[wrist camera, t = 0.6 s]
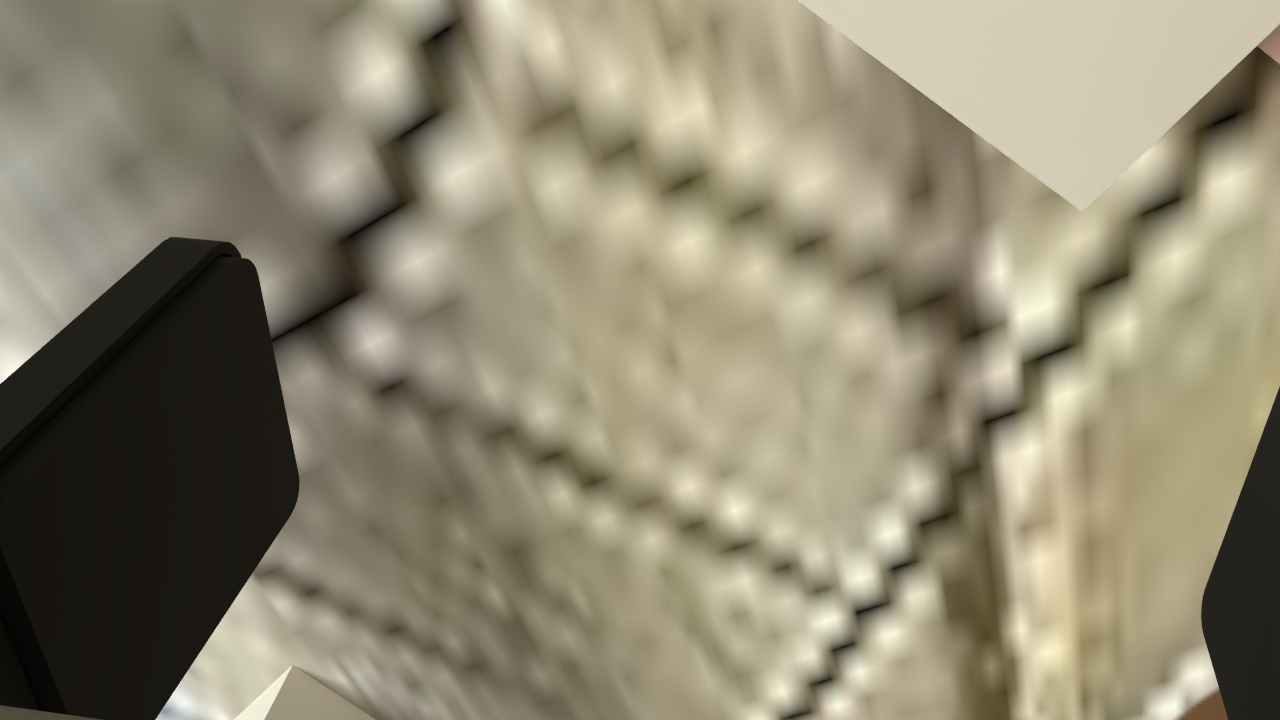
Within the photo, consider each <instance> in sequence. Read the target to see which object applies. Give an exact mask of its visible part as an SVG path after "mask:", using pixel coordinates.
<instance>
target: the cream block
mask: <svg viewBox="0 0 1280 720" xmlns="http://www.w3.org/2000/svg"><path fill="white" fill-rule="evenodd" d="M798 1H799V2H801V3H802V4H803V5H805V6H806V7H807V8H809V9H810V10H811V11H813V12H814V13H815V14H817V15H818V16H819V17H821V18H822V19H823V20H825V21H826V22H827V23H829V24H830V25H832V26H833V27H834V28H836V29H837V30H838V31H840V32H841V33H842V34H844V35H845V36H846V37H848V38H849V39H850V40H852V41H853V42H854V43H856V44H857V45H858V46H860V47H861V48H862V49H864V50H865V51H867V52H868V53H869V54H871V55H872V56H873V57H875V58H876V59H877V60H879V61H880V62H881V63H883V64H884V65H885V66H887V67H888V68H889V69H891V70H892V71H893V72H895V73H896V74H897V75H899V76H900V77H902V78H903V79H904V80H906V81H907V82H908V83H910V84H911V85H912V86H914V87H915V88H916V89H918V90H919V91H920V92H922V93H923V94H924V95H926V96H927V97H928V98H930V99H931V100H932V101H934V102H935V103H936V104H938V105H939V106H941V107H942V108H943V109H945V110H946V111H947V112H949V113H950V114H951V115H953V116H954V117H955V118H957V119H958V120H959V121H961V122H962V123H963V124H965V125H966V126H967V127H969V128H970V129H971V130H973V131H974V132H976V133H977V134H978V135H980V136H981V137H982V138H984V139H985V140H986V141H988V142H989V143H990V144H992V145H993V146H994V147H996V148H997V149H998V150H1000V151H1001V152H1002V153H1004V154H1005V155H1006V156H1008V157H1009V158H1011V159H1012V160H1013V161H1015V162H1016V163H1017V164H1019V165H1020V166H1021V167H1023V168H1024V169H1025V170H1027V171H1028V172H1029V173H1031V174H1032V175H1033V176H1035V177H1036V178H1037V179H1039V180H1040V181H1041V182H1043V183H1044V184H1046V185H1047V186H1048V187H1050V188H1051V189H1052V190H1054V191H1055V192H1056V193H1058V194H1059V195H1060V196H1062V197H1063V198H1064V199H1066V200H1067V201H1068V202H1070V203H1071V204H1072V205H1074V206H1075V207H1076V208H1078V209H1079V210H1081V211H1083V210H1084V209H1086V208H1087V207H1088V206H1089V205H1090V204H1091V203H1092V202H1093V201H1094V200H1095V199H1096V198H1097V197H1098V196H1099V195H1100V194H1101V193H1102V192H1103V191H1104V190H1106V189H1107V188H1108V187H1109V186H1110V185H1111V184H1112V183H1113V182H1114V181H1115V180H1116V179H1117V178H1118V177H1119V176H1120V175H1121V174H1122V173H1123V172H1124V171H1126V170H1127V169H1128V168H1129V167H1130V166H1131V165H1132V164H1133V163H1134V162H1135V161H1136V160H1137V159H1138V158H1139V157H1140V156H1141V155H1142V154H1143V153H1145V152H1146V151H1147V150H1148V149H1149V148H1150V147H1151V146H1152V145H1153V144H1154V143H1155V142H1156V141H1157V140H1158V139H1159V138H1160V137H1161V136H1162V135H1163V134H1165V133H1166V132H1167V131H1168V130H1169V129H1170V128H1171V127H1172V126H1173V125H1174V124H1175V123H1176V122H1177V121H1178V120H1179V119H1180V118H1181V117H1182V116H1183V115H1185V114H1186V113H1187V112H1188V111H1189V110H1190V109H1191V108H1192V107H1193V106H1194V105H1195V104H1196V103H1197V102H1198V101H1199V100H1200V99H1201V98H1202V97H1203V96H1205V95H1206V94H1207V93H1208V92H1209V91H1210V90H1211V89H1212V88H1213V87H1214V86H1215V85H1216V84H1217V83H1218V82H1219V81H1220V80H1221V79H1222V78H1224V77H1225V76H1226V75H1227V74H1228V73H1229V72H1230V71H1231V70H1232V69H1233V68H1234V67H1235V66H1236V65H1237V64H1238V63H1239V62H1240V61H1241V60H1242V59H1244V58H1245V57H1246V56H1247V55H1248V54H1249V53H1250V52H1251V51H1252V50H1253V49H1254V48H1255V47H1256V46H1257V45H1258V44H1259V43H1260V42H1261V41H1262V40H1264V39H1265V38H1266V37H1267V36H1268V35H1269V34H1270V33H1271V32H1272V31H1273V30H1274V29H1275V28H1276V27H1277V26H1278V25H1279V24H1280V0H798Z"/></svg>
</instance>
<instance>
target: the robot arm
mask: <svg viewBox="0 0 1280 720" xmlns="http://www.w3.org/2000/svg"><path fill="white" fill-rule="evenodd" d="M298 493H299V474H298V469H297V464H296V459H295V454H294V449H293V444H292V439H291V434H290V429H289V425H288V420H287V415H286V410H285V405H284V400H283V395H282V390H281V385H280V380H279V375H278V370H277V365H276V361H275V356H274V351H273V346H272V341H271V336H270V331H269V326H268V321H267V316H266V311H265V306H264V301H263V297H262V292H261V287H260V282H259V277H258V273H257V270H256V267H255V266H254V264H253V263H252V261H250V260H249V259H245V258H242V257H241V254H240V253H239V251H238V250H237V248H236V247H235V246H234V245H233V244H231V243H229V242H222V241H212V240H201V239H190V238H180V237H170V238H168V239H167V240H165V241H163V242H162V243H161V244H160V245H159V246H157V247H156V248H155V249H154V250H153V251H152V252H151V253H149V254H148V255H147V256H146V257H145V258H144V259H143V260H141V261H140V262H139V263H138V264H137V265H136V266H135V267H133V268H132V269H131V270H130V271H129V272H128V273H127V274H125V275H124V276H123V277H122V278H121V279H120V280H119V281H117V282H116V283H115V284H114V285H113V286H112V287H111V288H109V289H108V290H107V291H106V292H105V293H104V294H103V295H101V296H100V297H99V298H98V299H97V300H96V301H95V302H93V303H92V304H91V305H90V306H89V307H88V308H87V309H85V310H84V311H83V312H82V313H81V314H80V315H79V316H77V317H76V318H75V319H74V320H73V321H72V322H71V323H70V324H68V325H67V326H66V327H65V328H64V329H63V330H62V331H60V332H59V333H58V334H57V335H56V336H55V337H54V338H52V339H51V340H50V341H49V342H48V343H47V344H46V345H44V346H43V347H42V348H41V349H40V350H39V351H38V352H36V353H35V354H34V355H33V356H32V357H31V358H30V359H28V360H27V361H26V362H25V363H24V364H23V365H22V366H20V367H19V368H18V369H17V370H16V371H15V372H14V373H12V374H11V375H10V376H9V377H8V378H7V379H6V380H4V381H3V382H2V383H1V384H0V720H155V719H156V718H157V716H158V715H159V713H160V712H161V710H162V709H163V707H164V706H165V704H166V703H167V701H168V700H169V698H170V697H171V695H172V693H173V692H174V690H175V689H176V687H177V686H178V684H179V683H180V681H181V680H182V678H183V677H184V675H185V674H186V672H187V671H188V669H189V668H190V666H191V665H192V663H193V662H194V660H195V659H196V657H197V656H198V654H199V653H200V651H201V650H202V648H203V647H204V645H205V644H206V642H207V641H208V639H209V638H210V636H211V635H212V633H213V632H214V630H215V629H216V627H217V626H218V624H219V623H220V621H221V620H222V618H223V617H224V615H225V614H226V612H227V611H228V609H229V608H230V606H231V604H232V603H233V601H234V600H235V598H236V597H237V595H238V594H239V592H240V591H241V589H242V588H243V586H244V585H245V583H246V582H247V580H248V579H249V577H250V576H251V574H252V573H253V571H254V570H255V568H256V567H257V565H258V564H259V562H260V561H261V559H262V558H263V556H264V555H265V553H266V552H267V550H268V549H269V547H270V546H271V544H272V543H273V541H274V540H275V538H276V537H277V535H278V534H279V532H280V531H281V529H282V528H283V526H284V525H285V523H286V522H287V520H288V519H289V517H290V515H291V514H292V512H293V510H294V508H295V505H296V502H297V498H298ZM1201 619H1202V629H1203V634H1204V637H1205V641H1206V644H1207V648H1208V651H1209V655H1210V658H1211V661H1212V665H1213V668H1214V672H1215V675H1216V679H1217V682H1218V685H1219V689H1220V692H1221V696H1222V699H1223V703H1224V706H1225V709H1226V713H1227V716H1228V720H1280V387H1279V390H1278V393H1277V396H1276V398H1275V401H1274V404H1273V406H1272V409H1271V412H1270V415H1269V417H1268V420H1267V423H1266V425H1265V428H1264V431H1263V433H1262V436H1261V439H1260V442H1259V444H1258V447H1257V450H1256V452H1255V455H1254V458H1253V461H1252V463H1251V466H1250V469H1249V471H1248V474H1247V477H1246V480H1245V482H1244V485H1243V488H1242V490H1241V493H1240V496H1239V498H1238V501H1237V504H1236V507H1235V509H1234V512H1233V515H1232V517H1231V520H1230V523H1229V526H1228V528H1227V531H1226V534H1225V536H1224V539H1223V542H1222V545H1221V547H1220V550H1219V553H1218V555H1217V558H1216V561H1215V563H1214V566H1213V569H1212V572H1211V574H1210V577H1209V580H1208V582H1207V585H1206V588H1205V591H1204V595H1203V601H1202V611H1201Z"/></svg>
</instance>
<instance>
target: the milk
mask: <svg viewBox="0 0 1280 720" xmlns="http://www.w3.org/2000/svg"><path fill="white" fill-rule="evenodd" d="M234 720H375V719H374V718H372V717H371V716H369V715H368V714H366V713H365V712H363V711H362V710H360V709H359V708H357V707H356V706H354V705H353V704H351V703H350V702H348V701H347V700H345V699H344V698H342V697H341V696H339V695H338V694H336V693H335V692H333V691H332V690H330V689H329V688H327V687H325V686H324V685H322V684H321V683H319V682H318V681H316V680H315V679H313V678H312V677H310V676H309V675H307V674H306V673H304V672H303V671H301V670H300V669H298V668H297V667H295V666H294V665H292V666H291V667H290V668H289V669H288V670H287V671H286V672H285V673H283V674H282V675H281V676H280V677H279V678H278V679H277V680H276V681H275V682H274V683H273V684H272V685H271V686H270V687H268V688H267V689H266V690H265V691H264V692H263V693H262V694H261V695H260V696H259V697H258V698H257V699H256V700H254V701H253V702H252V703H251V704H250V705H249V706H248V707H247V708H246V709H245V710H244V711H243V712H242V713H241V714H239V715H238V716H237V717H236V718H235V719H234Z"/></svg>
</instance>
